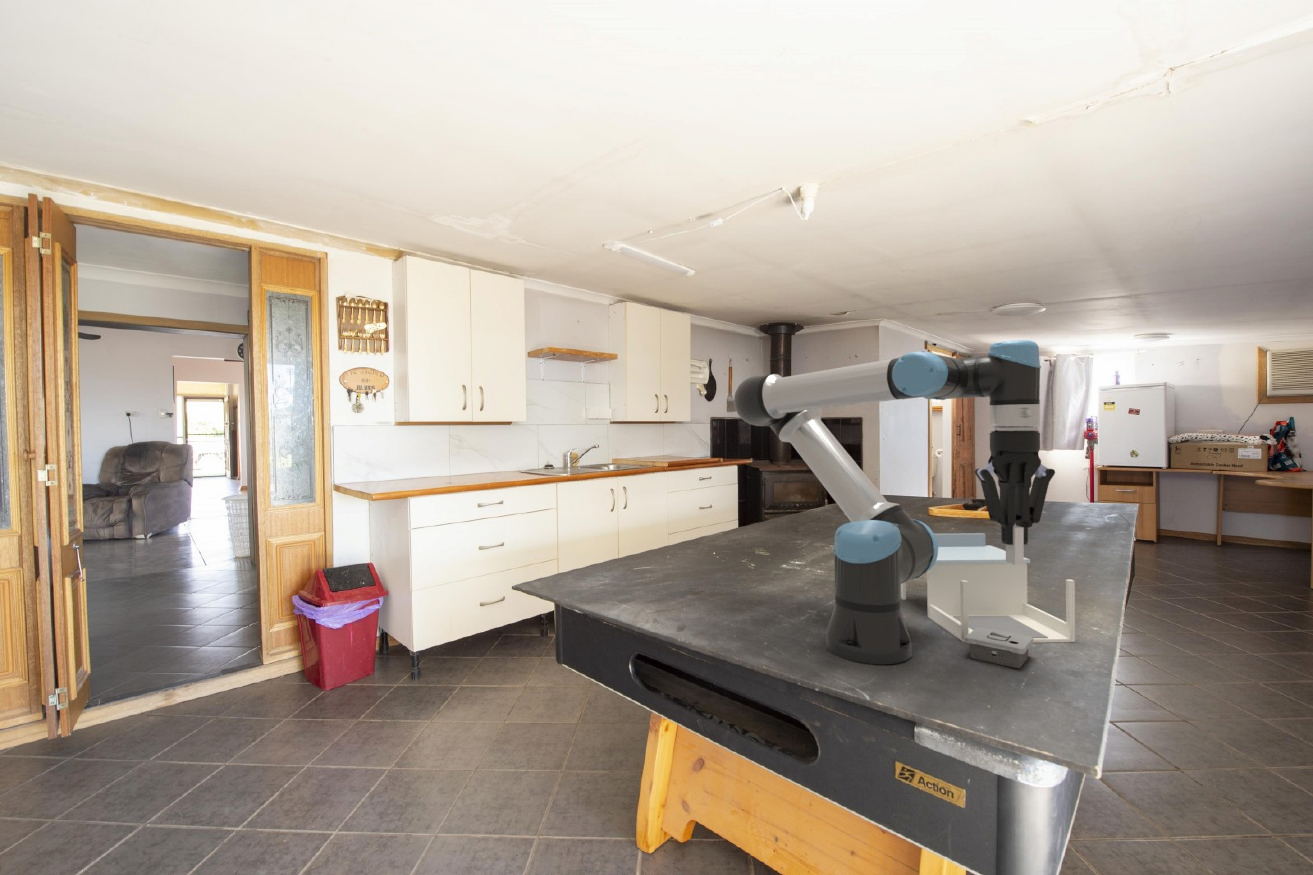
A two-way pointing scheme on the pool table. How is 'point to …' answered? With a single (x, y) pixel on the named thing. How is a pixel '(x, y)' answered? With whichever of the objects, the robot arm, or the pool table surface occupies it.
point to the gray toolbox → (999, 646)
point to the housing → (992, 602)
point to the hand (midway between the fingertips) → (1014, 562)
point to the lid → (968, 549)
